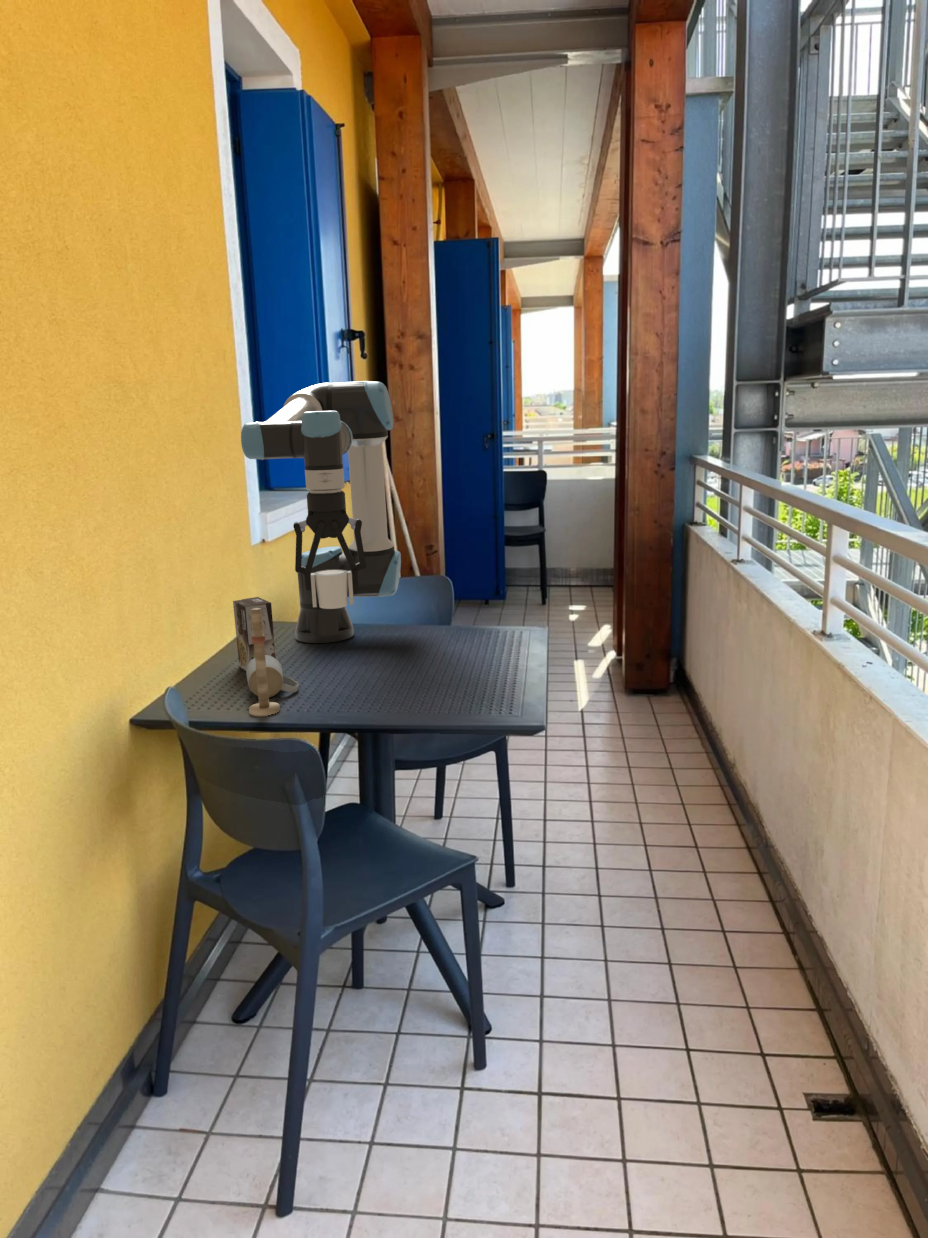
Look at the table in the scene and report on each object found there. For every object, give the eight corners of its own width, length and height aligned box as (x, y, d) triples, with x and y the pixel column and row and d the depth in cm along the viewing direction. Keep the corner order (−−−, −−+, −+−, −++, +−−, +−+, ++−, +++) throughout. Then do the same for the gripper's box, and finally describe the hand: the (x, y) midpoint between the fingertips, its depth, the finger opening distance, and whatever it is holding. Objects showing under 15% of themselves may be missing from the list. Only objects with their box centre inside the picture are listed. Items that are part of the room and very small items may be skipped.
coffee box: (277, 670, 211) (272, 602, 207) (250, 675, 208) (244, 606, 204) (264, 661, 218) (258, 595, 215) (238, 666, 215) (232, 599, 211)
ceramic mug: (249, 701, 189) (247, 666, 188) (247, 690, 197) (245, 655, 195) (301, 696, 192) (299, 661, 190) (296, 685, 200) (295, 651, 198)
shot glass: (345, 600, 190) (343, 567, 188) (353, 607, 184) (351, 573, 182) (312, 604, 188) (310, 570, 186) (320, 611, 181) (317, 576, 180)
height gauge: (250, 707, 185) (241, 607, 180) (280, 705, 186) (272, 605, 181) (248, 717, 179) (239, 613, 175) (279, 715, 180) (271, 611, 175)
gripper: (274, 495, 175) (283, 611, 180) (376, 490, 178) (382, 605, 183) (275, 491, 182) (284, 603, 187) (374, 486, 185) (380, 597, 190)
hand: (333, 604), depth 185 cm, fingers closed on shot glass, 7 cm apart
